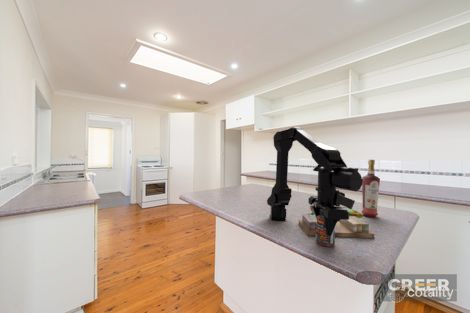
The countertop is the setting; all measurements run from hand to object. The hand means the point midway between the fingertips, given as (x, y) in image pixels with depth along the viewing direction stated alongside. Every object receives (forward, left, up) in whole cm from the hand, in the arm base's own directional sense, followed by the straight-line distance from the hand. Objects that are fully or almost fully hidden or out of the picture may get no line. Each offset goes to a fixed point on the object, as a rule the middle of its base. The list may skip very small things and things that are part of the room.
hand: (325, 231), depth 67 cm
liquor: (+35, +33, -4) cm, 48 cm away
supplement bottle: (0, 0, -4) cm, 4 cm away
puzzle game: (+16, +29, -5) cm, 33 cm away
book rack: (+8, +12, -4) cm, 15 cm away
